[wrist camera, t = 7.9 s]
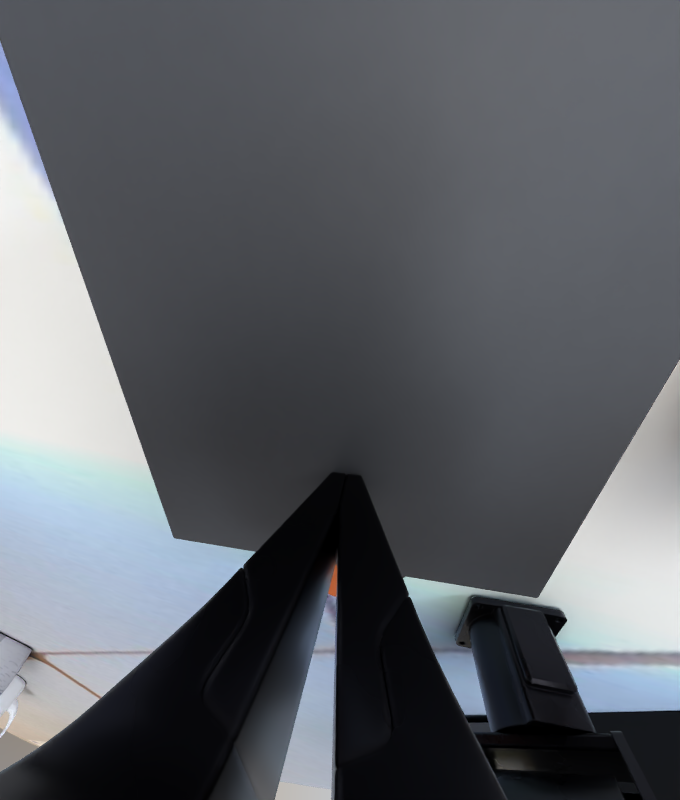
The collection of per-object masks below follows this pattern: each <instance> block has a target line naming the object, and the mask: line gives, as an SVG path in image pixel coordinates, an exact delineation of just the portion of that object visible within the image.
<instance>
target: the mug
mask: <svg viewBox="0 0 680 800" xmlns="http://www.w3.org/2000/svg"><path fill="white" fill-rule="evenodd" d="M24 687H25V681H24V680H23V679H22V678H21V677H19V676H18V675H16V676H15V677H14V679H13V680H12V682H11V683H10V684H9V686H8V687H7V688H6V689H5V691H4V692H3V693H2V694H1V695H0V717H1V716H2V714H3V713H4V712H5V711H8V712H9V715H10V716H9V721H8V723H7V725H6V727H5V729H4V730H3V731H2V733H1V734H0V737H1V736H2V735H3V734H4V733H5V731H6V730H7V728H8V727H9V726H10V724H11V723H12V721H13V719H14V717H15V715H16V713H17V709H18V701H17V699H16V698H17V697H18V696H19V694H20V693H21V692H22V690H23V689H24Z"/></svg>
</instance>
